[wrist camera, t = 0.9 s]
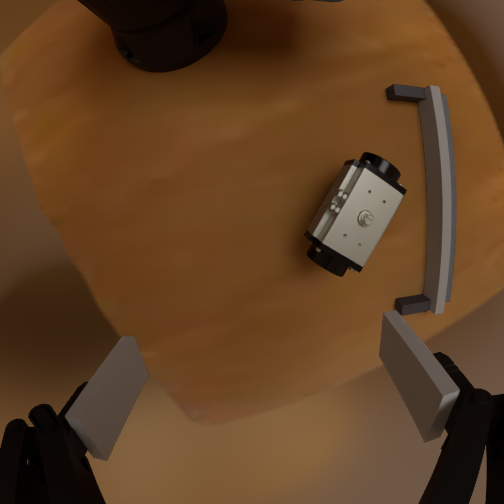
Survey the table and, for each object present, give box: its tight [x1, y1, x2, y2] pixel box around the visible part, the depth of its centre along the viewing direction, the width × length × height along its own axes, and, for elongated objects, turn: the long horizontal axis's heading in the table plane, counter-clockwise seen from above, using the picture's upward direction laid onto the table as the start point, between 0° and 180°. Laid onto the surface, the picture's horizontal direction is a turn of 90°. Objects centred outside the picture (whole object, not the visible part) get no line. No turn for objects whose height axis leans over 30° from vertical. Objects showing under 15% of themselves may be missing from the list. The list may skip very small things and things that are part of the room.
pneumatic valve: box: [304, 152, 407, 277], centre depth 29 cm, size 6×12×12 cm, turn 151°
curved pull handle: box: [386, 84, 456, 315], centre depth 33 cm, size 30×10×4 cm, turn 6°
